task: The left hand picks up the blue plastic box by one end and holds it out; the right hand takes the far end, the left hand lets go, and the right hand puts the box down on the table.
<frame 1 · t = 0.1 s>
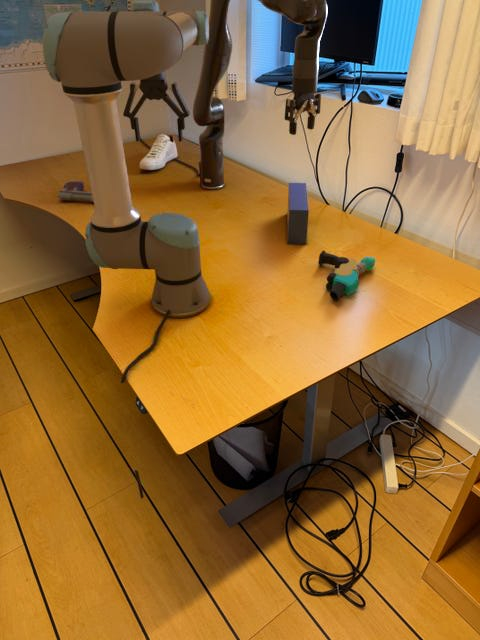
left hand: (159, 140, 150), 28 cm above the table, tool pointing down, fingers open, 13 cm apart
right hand: (301, 131, 151), 29 cm above the table, tool pointing down, fingers open, 8 cm apart
box: (296, 228, 161), on the table
toy gun 2: (337, 281, 133), on the table
toy gun: (84, 197, 186), on the table
sneaker: (158, 164, 218), on the table
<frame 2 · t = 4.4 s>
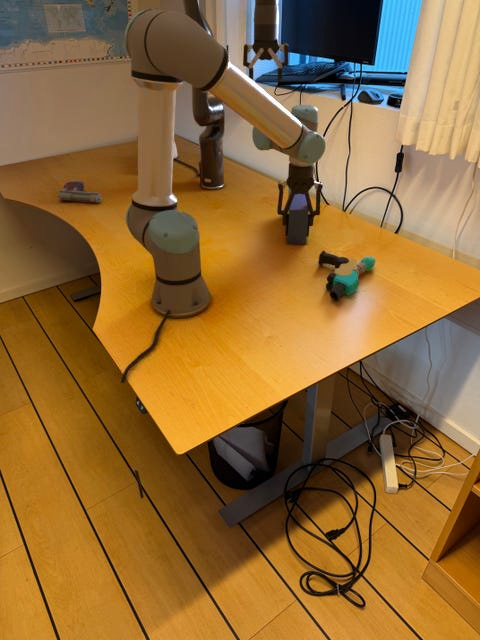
left hand: (297, 234, 153), 2 cm above the table, tool pointing down, fingers closed on box, 6 cm apart
right hand: (265, 81, 153), 42 cm above the table, tool pointing down, fingers open, 8 cm apart
box: (296, 228, 161), on the table, touching left hand
everything else where it was.
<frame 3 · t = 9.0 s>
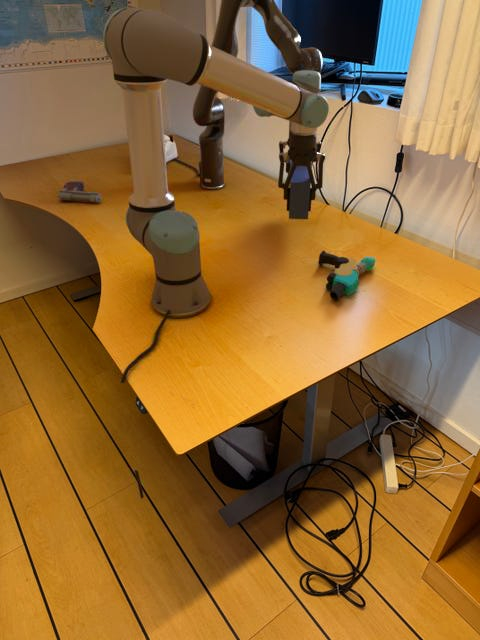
left hand: (298, 209, 148), 10 cm above the table, tool pointing down, fingers closed on box, 6 cm apart
right hand: (298, 173, 159), 16 cm above the table, tool pointing down, fingers closed on box, 6 cm apart
box: (297, 204, 156), point 9 cm above the table, touching left hand, right hand
everything else where it was.
when the left hand's fingers open (10 cm above the table, at t = 9.9 s): box stays where it is, held by the right hand.
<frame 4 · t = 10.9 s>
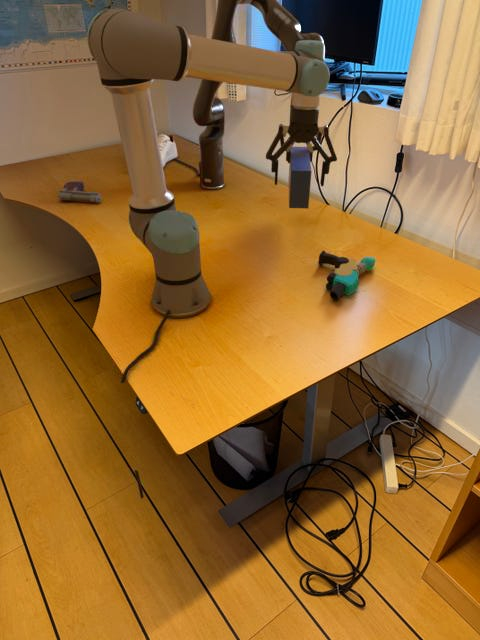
left hand: (298, 184, 141), 20 cm above the table, tool pointing down, fingers open, 13 cm apart
right hand: (298, 162, 157), 19 cm above the table, tool pointing down, fingers closed on box, 6 cm apart
box: (297, 193, 154), point 12 cm above the table, touching right hand
everything else where it was.
when the right hand's fingers open (8 cm above the table, at t = 22.5 s): box drops 1 cm, on the table.
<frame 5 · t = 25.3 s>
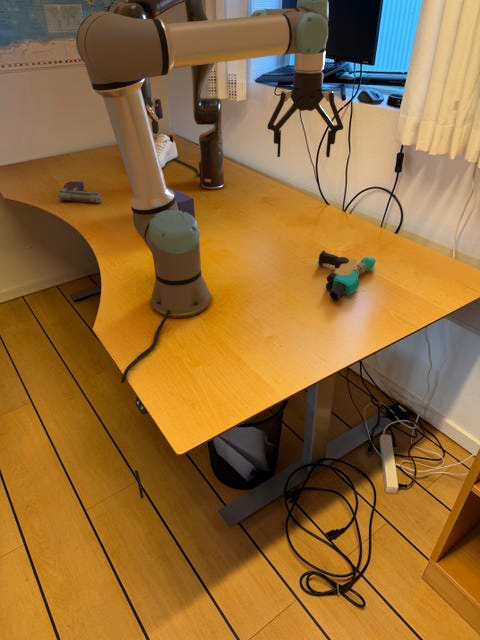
left hand: (303, 155, 133), 29 cm above the table, tool pointing down, fingers open, 13 cm apart
right hand: (144, 135, 155), 28 cm above the table, tool pointing down, fingers open, 8 cm apart
box: (168, 222, 166), on the table
everything else where it was.
at the end: box inside the target area (8.6 cm from its centre), on the table; the left hand is holding nothing; the right hand is holding nothing; box at rest at the end (0.0 cm/s) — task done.
